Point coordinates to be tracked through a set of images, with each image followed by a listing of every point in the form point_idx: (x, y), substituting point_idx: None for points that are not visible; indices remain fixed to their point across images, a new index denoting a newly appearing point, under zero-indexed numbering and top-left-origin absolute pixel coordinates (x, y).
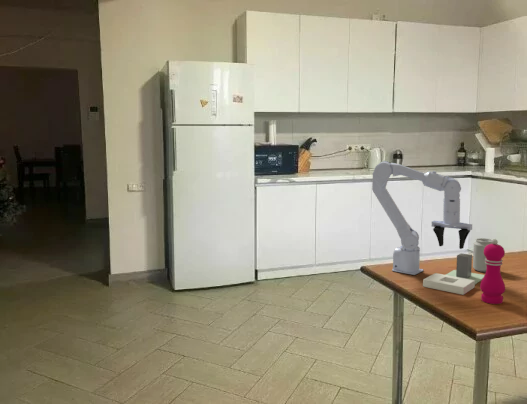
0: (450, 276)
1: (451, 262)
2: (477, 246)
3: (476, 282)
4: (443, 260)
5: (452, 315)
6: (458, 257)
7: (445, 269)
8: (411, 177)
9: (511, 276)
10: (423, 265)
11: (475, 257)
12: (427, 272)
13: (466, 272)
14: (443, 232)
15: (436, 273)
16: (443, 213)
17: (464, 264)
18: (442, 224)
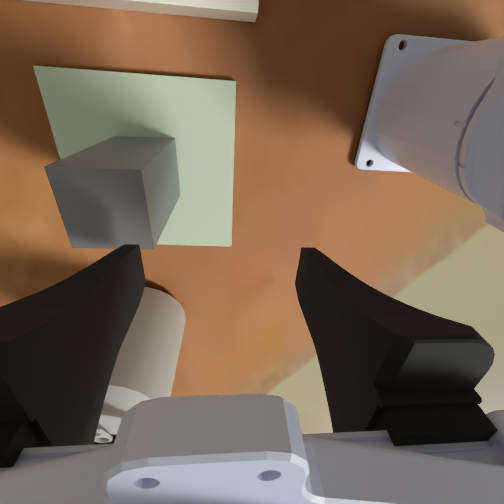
0: None
1: (280, 333)
2: (121, 379)
3: (42, 96)
4: (312, 339)
5: None
6: (131, 164)
7: (270, 244)
8: None
9: (26, 292)
10: (369, 249)
11: (152, 329)
12: (330, 152)
13: (107, 142)
14: (327, 384)
15: (247, 5)
16: None
17: (101, 153)
18: (380, 468)
